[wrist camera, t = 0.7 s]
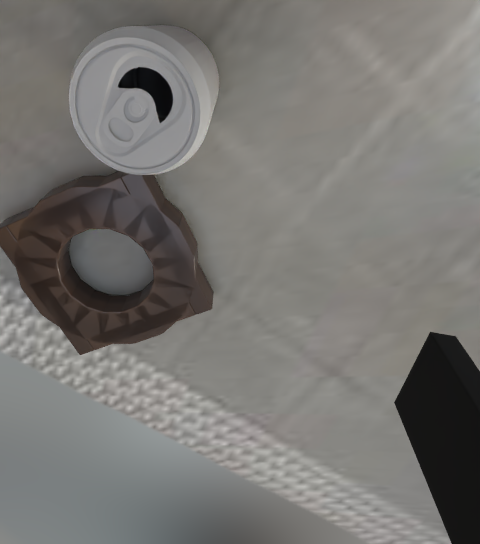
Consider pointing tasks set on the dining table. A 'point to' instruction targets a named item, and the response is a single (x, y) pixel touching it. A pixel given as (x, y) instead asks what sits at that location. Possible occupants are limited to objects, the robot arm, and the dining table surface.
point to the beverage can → (143, 97)
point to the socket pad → (124, 219)
